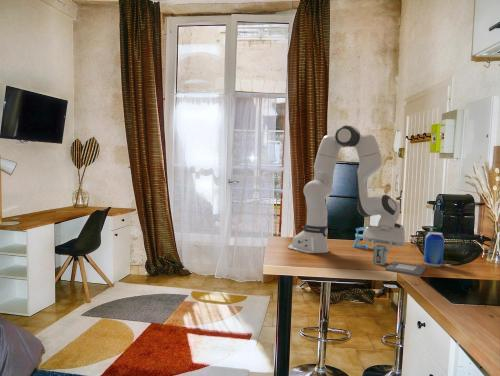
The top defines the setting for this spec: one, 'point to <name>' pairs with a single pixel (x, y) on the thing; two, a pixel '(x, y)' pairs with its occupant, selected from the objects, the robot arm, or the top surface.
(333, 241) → the top surface
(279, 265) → the top surface
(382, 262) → the slotted cup
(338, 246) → the top surface
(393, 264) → the card
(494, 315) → the top surface
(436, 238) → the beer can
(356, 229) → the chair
